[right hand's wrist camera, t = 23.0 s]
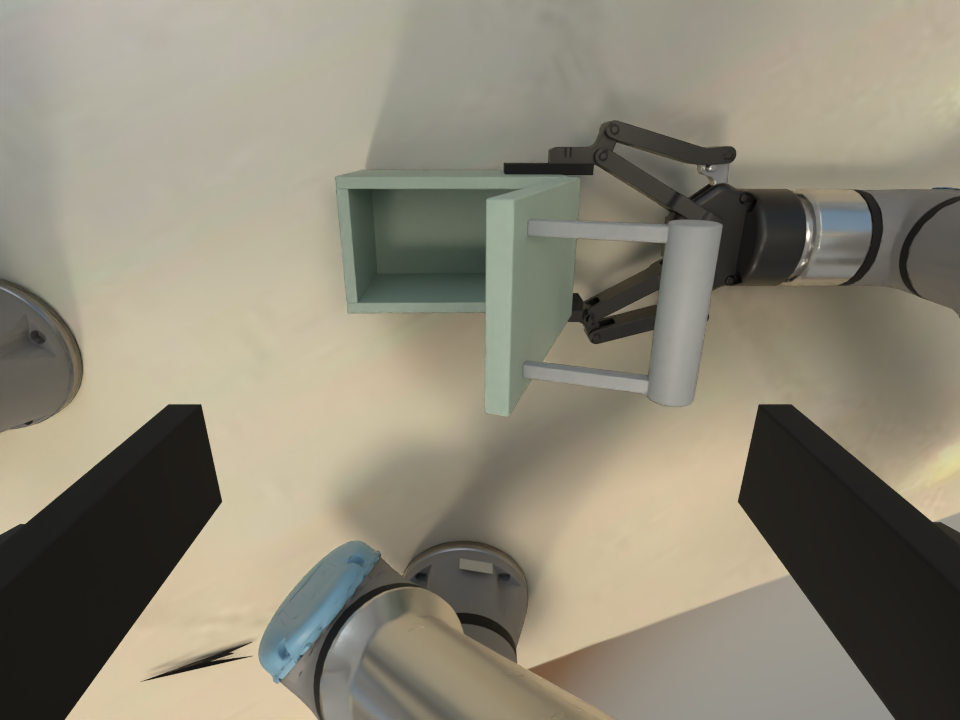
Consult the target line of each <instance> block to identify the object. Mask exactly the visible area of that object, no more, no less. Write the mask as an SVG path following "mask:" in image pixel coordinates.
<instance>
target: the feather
mask: <svg viewBox="0 0 960 720" xmlns="http://www.w3.org/2000/svg"><path fill="white" fill-rule="evenodd" d="M250 643H252V642H250ZM247 644H249V643H247ZM247 644H244V645H242V646H239V647H236V648H233V649H230V650H228V651H225V652H222V653H219V654H217V655H214V656H211V657H208V658H205V659H203V660H200V661H197V662H194V663H191V664H189V665H186V666H183V667H180V668H178V669H175V670H172V671H169V672H166V673H164V674H161V675H158V676H155V677H152V678H150V679H147V680H151V679H155V678H159V677H164V676H168V675H172V674H177V673H181V672H185V671H190V670H194V669H199V668H203V667H207V666H212V665H216V664H220V663H225V662H229V661H234V660H238V659H242V658H247V657H241V656H240V657H241V658H237V657H236V658H232V659H226V660H222V659H220V660H219V661H218V660H217V661H214V660H216V659H218V658H221V657H224V656H227V655H231V654H234V653H232V651H234V650H236V649H238V648H240V647H243V646H245V645H247ZM237 651H238V650H237ZM229 652H231V653H229ZM234 652H235V651H234ZM244 656H245V655H244ZM232 657H233V656H232ZM248 657H251V656H248ZM228 658H229V657H228ZM224 659H225V658H224ZM144 681H146V680H144ZM141 682H142V681H141Z"/></svg>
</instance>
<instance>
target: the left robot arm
mask: <svg viewBox="0 0 960 720" xmlns="http://www.w3.org/2000/svg"><path fill="white" fill-rule="evenodd" d="M616 142H617V143H621V144H624V145H627V146H630V147H634V148H637V149H640V150H643V151H647V152H650V153H653V154H656V155H660V156H663V157H666V158H669V159H673V160H676V161H679V162H683V163H687V164H696V165H697V171H698V173H699V174H701V175H705V176H707V177H708V178H709V181H710V184H708V185H707V186H705V187H704V188H702V189H701V190H699V191H698V192H696V193H695V194H693V195H692V196H690V197H689V198H687V197H685V196H684V195H682V194H680V193H678V192H676V191H674V190H673V189H671V188H670V187H668V186H666V185H665V184H663V183H662V182H660V181H658V180H657V179H655V178H654V177H652V176H650V175H649V174H647V173H646V172H644V171H643V170H641V169H639V168H638V167H636V166H635V165H633V164H631V163H630V162H628V161H627V160H625V159H624V158H622V157H620V156H619V155H617V154H616V153H614V152H612V151H613V149H614V146H615V144H616ZM735 157H736V150H735V149H734V148H733V147H730V146H712V147H700V146H697V145H694V144H690V143H687V142H684V141H681V140H678V139H674V138H671V137H668V136H665V135H662V134H658V133H655V132H652V131H649V130H646V129H642V128H639V127H636V126H633V125H629V124H626V123H623V122H620V121H609V122H605V123H603V124H602V125H601V127H600V130H599V134H598V137H597V139H596V141H595V143H594V144H593V145H591V146H589V147H554V148H552V149H550V150H549V153H548V163H504V174H531V175H593V168H594V165H597V166H598V167H600V168H601V169H603V170H605V171H606V172H608V173H610V174H611V175H613V176H614V177H616V178H618V179H619V180H621V181H622V182H624V183H626V184H627V185H629V186H630V187H632V188H634V189H635V190H637V191H638V192H640V193H642V194H643V195H645V196H647V197H648V198H650V199H651V200H653V201H655V202H656V203H657V204H659V205H660V206H662V207H663V208H665V209H667V210H668V211H670V214H669V216H668V217H665V224H668V223H669V222H670V221H673V220H705V221H713V222H718V223H720V224H722V226H723V227H722V233H721V239H720V245H719V251H718V257H717V263H716V269H715V275H714V281H713V287H712V291H713V290H715V289H717V288H719V287H722V286H776V285H779V284H782V285H784V286H836V285H837V286H843V285H846V286H847V285H856V286H885V287H892V288H897V289H900V290H903V291H906V292H908V293H911V294H914V295H917V296H919V297H921V298H923V299H926V300H929V301H932V302H935V303H938V304H940V305H943V306H946V307H948V308H951V309H953V310H954V311H955V312H956V313H957V314H958V315H959V317H960V189H955V188H952V187H937V188H933V189H902V190H852V189H797V190H794V191H790V190H787V189H736V188H734V187H732V186H731V185H729V184H727V181H728V169H729V163H731V162H732V161H733V160H734V159H735ZM664 249H665V243H663V245H662V249H661V256H663V257H664ZM662 265H663V259H661V260H659V261H657V262H655V263H653V264H651V265H650V267H649V268H647V269H646V270H644V271H642V272H640V273H638V274H636V275H634V276H632V277H630V278H628V279H626V280H624V281H622V282H621V283H619V284H617V285H615V286H613V287H611V288H609V289H607V290H605V291H603V292H601V293H599V294H597V295H595V296H594V297H592V298H590V299H588V300H586V301H584V302H583V300H582V299H581V297H580V296H579V294H578V293H573V298H572V313H571V316H570V318H569V320H568V321H567V322H580V323H582V324H583V326H584V331H585V333H586V334H587V336H588V338H589V340H590V342H592V343H593V344H599V343H603V342H607V341H611V340H615V339H619V338H623V337H627V336H631V335H635V334H639V333H642V332H646V331H650V330H654V327H655V319H656V311H657V305H653V306H649V307H645V308H641V309H637V310H633V311H630V312H626V313H622V314H618V315H614V316H610V317H606V316H608V315H610V314H612V313H614V312H616V311H617V310H619V309H621V308H623V307H625V306H627V305H629V304H631V303H633V302H635V301H637V300H639V299H641V298H643V297H645V296H647V295H649V294H651V293H653V292H655V291H657V290H659V288H660V280H661V272H662ZM604 317H606V318H604ZM708 319H709V314H708V317H707V321H708ZM380 556H381V553H380V552H379V551H375V550H373V549H372V548H371V547H370V546H368V545H367V544H366V543H364V542H362V541H351V542H347V543H345V544H343V545H341V546H339V547H338V548H336V549H335V550H333V551H332V552H330V553H329V554H328V555H327V556H326V557H324V558H323V559H322V560H321V561H320V562H318V563H317V564H316V565H315V566H314V567H313V568H312V569H311V570H310V571H309V572H308V573H307V574H306V575H305V576H304V577H303V579H302V580H301V581H300V582H299V583H298V584H297V585H296V586H295V588H294V589H293V590H292V591H291V592H290V594H289V595H288V596H287V598H286V599H285V600H284V602H283V603H282V604H281V606H280V607H279V609H278V610H277V611H276V613H275V615H274V616H273V618H272V620H271V621H270V623H269V625H268V626H267V628H266V630H265V632H264V634H263V637H262V639H261V642H260V646H259V661H260V663H261V665H262V667H263V668H264V669H265V670H266V671H267V672H268V673H269V674H270V675H272V676H273V681H274V682H275V683H277V684H278V683H279V682H281V683H282V684H283V685H284V686H285V687H287V688H288V689H289V690H290V691H291V692H293V693H294V694H295V695H296V696H297V697H298V698H299V699H301V700H302V701H303V702H304V703H305V704H306V705H307V706H308V707H309V709H310V710H311V711H312V712H313V713H314V715H315V716H316V717H317V719H318V720H617V719H615V718H613V717H611V716H609V715H608V714H606V713H604V712H602V711H601V710H599V709H597V708H595V707H593V706H592V705H590V704H588V703H586V702H584V701H583V700H581V699H579V698H577V697H575V696H574V695H572V694H570V693H568V692H566V691H565V690H563V689H561V688H559V687H558V686H556V685H554V684H552V683H550V682H549V681H547V680H545V679H543V678H542V677H540V676H538V675H536V674H534V673H533V672H531V671H529V670H527V669H525V668H524V667H522V666H520V665H518V664H517V655H516V647H517V644H518V640H519V637H520V634H521V630H522V627H523V623H524V620H525V617H526V613H527V606H528V592H527V584H526V580H525V577H524V574H523V572H522V571H521V569H520V567H519V566H518V565H517V564H516V562H515V561H514V560H513V559H512V558H510V557H509V556H508V555H507V554H505V553H504V552H502V551H500V550H498V549H496V548H494V547H491V546H489V545H485V544H482V543H477V542H468V541H458V542H449V543H444V544H441V545H437V546H435V547H432V548H430V549H428V550H426V551H424V552H423V553H421V554H420V555H419V556H417V557H416V558H415V559H414V560H413V561H412V562H411V563H410V564H409V566H408V567H407V569H406V570H405V572H404V574H403V576H401V575H400V574H399V573H397V572H396V571H395V570H394V569H393V568H392V567H391V566H390V565H389V564H388V563H386V562H385V561H384V560H383V559H382V558H381V557H380Z"/></svg>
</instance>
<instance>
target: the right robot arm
mask: <svg viewBox="0 0 960 720" xmlns="http://www.w3.org/2000/svg"><path fill="white" fill-rule="evenodd" d="M81 376H82V364H81V358H80V353H79V350H78V347H77V344H76V342H75V340H74V338H73V336H72V334H71V332H70V331H69V329H68V327H67V326H66V324H65V323H64V322H63V321H62V319H61V318H60V317H59V316H58V315H57V313H56V312H55V311H54V310H53V309H52V308H51V307H50V306H48V305H47V304H46V303H45V302H44V301H42V300H41V299H40V298H38V297H37V296H36V295H34V294H33V293H31V292H29V291H28V290H26V289H24V288H22V287H20V286H18V285H16V284H13V283H11V282H8V281H5V280H2V279H0V432H3V431H6V430H8V429H18V428H23V427H27V426H31V425H34V424H37V423H40V422H42V421H44V420H46V419H48V418H50V417H51V416H53V415H54V414H56V413H58V412H59V411H61V410H62V409H63V408H65V407H66V406H67V405H68V404H69V403H70V402H71V401H72V400H73V398H74V397H75V395H76V393H77V391H78V389H79V386H80V382H81ZM221 503H222V499H221V494H220V490H219V485H218V480H217V476H216V471H215V466H214V462H213V457H212V453H211V448H210V443H209V439H208V434H207V429H206V425H205V420H204V415H203V411H202V406H201V404H169V405H167V406H166V407H165V408H164V409H163V410H161V411H160V412H159V413H158V414H157V415H155V416H154V417H153V418H152V419H151V420H149V421H148V422H147V423H146V424H145V425H143V426H142V427H141V428H140V429H139V430H137V431H136V432H135V433H134V434H133V435H131V436H130V437H129V438H128V439H127V440H125V441H124V442H123V443H122V444H121V445H119V446H118V447H117V448H116V449H115V450H113V451H112V452H111V453H110V454H109V455H107V456H106V457H105V458H104V459H103V460H102V461H100V462H99V463H98V464H97V465H96V466H94V467H93V468H92V469H91V470H90V471H88V472H87V473H86V474H85V475H84V476H82V477H81V478H80V479H79V480H78V481H76V482H75V483H74V484H73V485H72V486H70V487H69V488H68V489H67V490H66V491H64V492H63V493H62V494H61V495H60V496H58V497H57V498H56V499H55V500H54V501H52V502H51V503H50V504H49V505H48V506H46V507H45V508H44V509H43V510H42V511H40V512H39V513H38V514H37V515H36V516H34V517H33V518H32V519H31V520H30V521H28V522H27V523H26V524H19V525H18V526H16V527H14V528H12V529H10V530H8V531H7V532H5V533H3V534H1V535H0V720H65V719H66V717H67V716H68V714H69V713H70V712H71V710H72V709H73V707H74V706H75V705H76V703H77V702H78V701H79V699H80V698H81V696H82V695H83V694H84V692H85V691H86V689H87V688H88V687H89V685H90V684H91V683H92V681H93V680H94V678H95V677H96V676H97V674H98V673H99V671H100V670H101V669H102V667H103V666H104V665H105V663H106V662H107V660H108V659H109V658H110V656H111V655H112V653H113V652H114V651H115V649H116V648H117V647H118V645H119V644H120V642H121V641H122V640H123V638H124V637H125V635H126V634H127V633H128V631H129V630H130V629H131V627H132V626H133V624H134V623H135V622H136V620H137V619H138V617H139V616H140V615H141V613H142V612H143V611H144V609H145V608H146V606H147V605H148V604H149V602H150V601H151V599H152V598H153V597H154V595H155V594H156V593H157V591H158V590H159V588H160V587H161V586H162V584H163V583H164V581H165V580H166V579H167V577H168V576H169V575H170V573H171V572H172V570H173V569H174V568H175V566H176V565H177V563H178V562H179V561H180V559H181V558H182V557H183V555H184V554H185V552H186V551H187V550H188V548H189V547H190V545H191V544H192V543H193V541H194V540H195V539H196V537H197V536H198V534H199V533H200V532H201V530H202V529H203V527H204V526H205V525H206V523H207V522H208V521H209V519H210V518H211V516H212V515H213V514H214V512H215V511H216V509H217V508H218V507H219V505H220V504H221ZM738 503H739V504H740V505H741V507H742V508H743V509H744V511H745V512H746V514H747V515H748V516H749V518H750V519H751V521H752V522H753V523H754V525H755V526H756V527H757V529H758V530H759V532H760V533H761V534H762V536H763V537H764V539H765V540H766V541H767V543H768V544H769V545H770V547H771V548H772V550H773V551H774V552H775V554H776V555H777V557H778V558H779V559H780V561H781V562H782V563H783V565H784V566H785V568H786V569H787V570H788V572H789V573H790V575H791V576H792V577H793V579H794V580H795V581H796V583H797V584H798V585H799V587H800V588H801V590H802V591H803V593H804V594H805V595H806V597H807V598H808V599H809V601H810V602H811V604H812V605H813V606H814V608H815V609H816V610H817V612H818V613H819V615H820V616H821V617H822V619H823V620H824V622H825V623H826V624H827V626H828V627H829V629H830V630H831V631H832V633H833V634H834V635H835V637H836V638H837V640H838V641H839V642H840V644H841V645H842V646H843V648H844V649H845V651H846V652H847V653H848V655H849V656H850V658H851V659H852V660H853V662H854V663H855V664H856V666H857V667H858V669H859V670H860V671H861V673H862V674H863V676H864V677H865V678H866V680H867V681H868V682H869V684H870V685H871V687H872V688H873V689H874V691H875V692H876V694H877V695H878V696H879V698H880V699H881V701H882V702H883V703H884V705H885V706H886V707H887V709H888V710H889V712H890V713H891V714H892V716H893V717H894V718H895V720H960V533H959V532H958V531H956V530H954V529H952V528H950V527H948V526H947V525H945V524H943V523H941V522H932V521H930V520H929V519H928V518H927V517H926V516H924V515H923V514H922V513H921V512H920V511H918V510H917V509H916V508H915V507H914V506H912V505H911V504H910V503H909V502H908V501H906V500H905V499H904V498H903V497H902V496H900V495H899V494H898V493H897V492H896V491H894V490H893V489H892V488H891V487H890V486H888V485H887V484H886V483H885V482H884V481H882V480H881V479H880V478H879V477H878V476H876V475H875V474H874V473H873V472H872V471H870V470H869V469H868V468H867V467H866V466H864V465H863V464H862V463H861V462H860V461H858V460H857V459H856V458H855V457H854V456H852V455H851V454H850V453H849V452H848V451H847V450H845V449H844V448H843V447H842V446H841V445H839V444H838V443H837V442H836V441H835V440H833V439H832V438H831V437H830V436H829V435H827V434H826V433H825V432H824V431H823V430H821V429H820V428H819V427H818V426H817V425H815V424H814V423H813V422H812V421H811V420H809V419H808V418H807V417H806V416H805V415H803V414H802V413H801V412H800V411H799V410H797V409H796V408H795V407H794V406H793V405H791V404H759V406H758V411H757V415H756V420H755V425H754V429H753V434H752V439H751V443H750V448H749V452H748V457H747V462H746V466H745V471H744V476H743V480H742V485H741V490H740V494H739V499H738Z"/></svg>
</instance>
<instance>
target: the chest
mask: <svg viewBox="0 0 960 720" xmlns="http://www.w3.org/2000/svg"><path fill="white" fill-rule="evenodd" d="M563 177H569V176H565V175H531V174H504V170H360V171H356V172H352V173H348V174H344V175H340V176H336V177H335V180H336V188H337V189H336V192H337V203H338V213H339V224H340V235H341V246H342V257H343V267H344V278H345V289H346V300H347V310H348V313H483V312H485V299H486V200H487V199H488V198H491V197H495V196H498V195H502V194H506V193H509V192H513V191H516V190H520V189H523V188H527V187H531V186H534V185H538V184H541V183H545V182H549V181H552V180H556V179H559V178H563Z"/></svg>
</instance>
